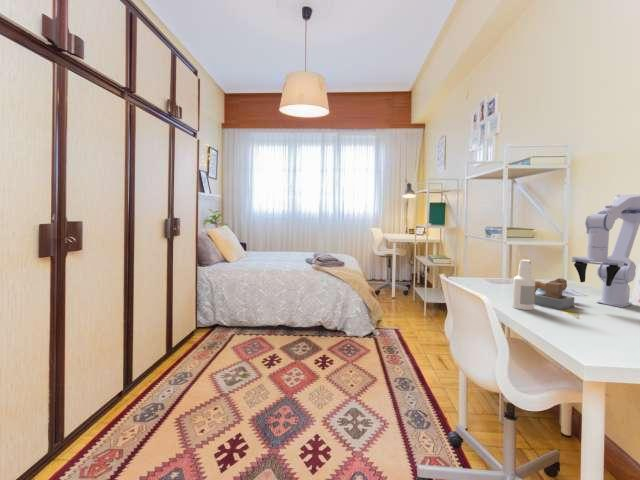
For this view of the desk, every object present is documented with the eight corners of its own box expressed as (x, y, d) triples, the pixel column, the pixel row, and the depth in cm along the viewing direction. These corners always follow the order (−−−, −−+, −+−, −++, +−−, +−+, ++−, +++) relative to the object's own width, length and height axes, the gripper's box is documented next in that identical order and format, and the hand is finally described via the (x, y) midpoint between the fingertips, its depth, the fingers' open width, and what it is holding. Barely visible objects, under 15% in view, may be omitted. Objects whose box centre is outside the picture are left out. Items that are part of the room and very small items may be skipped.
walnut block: (550, 301, 126) (551, 281, 125) (561, 304, 122) (563, 283, 122) (545, 303, 124) (546, 282, 123) (556, 305, 120) (558, 284, 120)
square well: (546, 300, 130) (546, 292, 129) (573, 306, 121) (574, 297, 121) (533, 303, 125) (534, 295, 125) (561, 310, 117) (562, 300, 116)
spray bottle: (530, 311, 115) (532, 262, 113) (509, 307, 120) (511, 260, 119) (536, 308, 119) (538, 260, 118) (515, 304, 124) (518, 258, 123)
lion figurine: (566, 299, 131) (568, 278, 131) (565, 302, 127) (566, 280, 127) (525, 293, 141) (526, 273, 140) (522, 296, 137) (523, 275, 137)
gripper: (569, 245, 121) (567, 281, 122) (619, 249, 108) (616, 288, 109) (577, 245, 124) (575, 279, 125) (627, 248, 112) (624, 286, 113)
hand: (595, 283), depth 117 cm, fingers open, 7 cm apart
